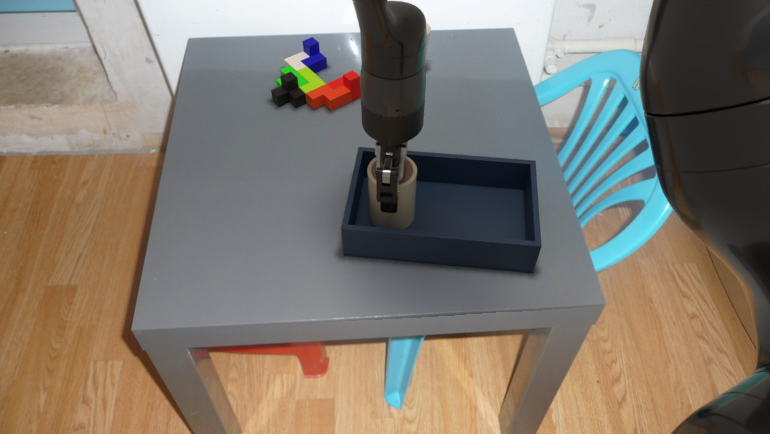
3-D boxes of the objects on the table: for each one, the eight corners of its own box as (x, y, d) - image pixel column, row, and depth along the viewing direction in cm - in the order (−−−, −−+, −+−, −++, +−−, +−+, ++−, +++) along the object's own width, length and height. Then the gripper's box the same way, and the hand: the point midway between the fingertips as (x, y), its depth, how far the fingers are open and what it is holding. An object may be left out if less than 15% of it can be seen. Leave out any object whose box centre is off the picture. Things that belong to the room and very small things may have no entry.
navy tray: (528, 188, 88) (535, 160, 84) (533, 272, 78) (541, 246, 74) (359, 174, 90) (358, 146, 86) (343, 255, 80) (340, 228, 76)
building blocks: (254, 82, 105) (249, 62, 102) (314, 56, 110) (312, 36, 107) (298, 126, 98) (295, 105, 94) (361, 96, 103) (360, 75, 99)
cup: (424, 214, 84) (427, 170, 77) (391, 239, 81) (391, 195, 75) (392, 190, 87) (393, 145, 81) (359, 213, 85) (357, 169, 78)
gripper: (420, 137, 63) (414, 234, 76) (429, 59, 72) (423, 157, 85) (351, 132, 64) (357, 229, 76) (369, 55, 73) (371, 153, 86)
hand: (392, 190), depth 81 cm, fingers closed on cup, 6 cm apart
